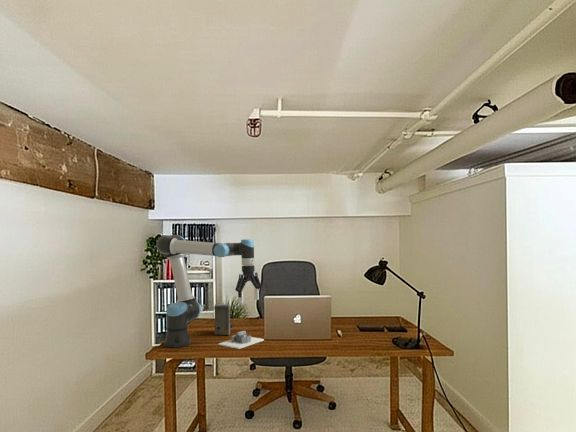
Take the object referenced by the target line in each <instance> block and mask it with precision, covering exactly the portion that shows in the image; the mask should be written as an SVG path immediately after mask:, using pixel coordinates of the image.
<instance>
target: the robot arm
mask: <svg viewBox="0 0 576 432" xmlns="http://www.w3.org/2000/svg"><path fill="white" fill-rule="evenodd" d="M156 249H157V251H158V252H159V253H160V254H162V255H165V257H166V260H169V262H170V263H169V264H170V266H171V270H172V271H171V272H172V275H173V281H174V284H175V290H176V295H177V300H176V302H174V303H173V302H172V303H170V304H168V305H167V307H166V312H165V313H166V334H165V339H164V341H163V346H164V347H165V346H166V347H165V348H171V347H175V348H183V347H187V346H189V344H190V345H191V344H192V343H191V341H192V339H191V336H190V333H189V330H188V323H190V322H192V321H195V320H196V319H197V318H199V317H200V315H201V313H202V307H201V304H200V303H199V302H198V301H197V300H196V296H195V295H193V294H192V293H193V292H192V289H191V285H190V283H191V282H190V279H189V275H188V269H187V265H186V261H185V256H186V255H187V254H188V255H199V256H212V257H218V258H225V257H232V256H241V272H242V274H241V273H239V275H238V280H237V283H236V285H235V286H236V287H235V289H234V290H235V291H236V292H238V294H237V296H238V303H239V304H244V291H243V290H244V288H245V286H246V284H247V283H248V282H251V283H252V285H253V287H254V289H253V292H254V293H253V294H254V295H253V296H254V300H256V301H259V300H260V297H259V296H260V295H259V294H260V289H261V288H262V284H261V281H260V279H259V278H260V277H258V276H259V274H258V272H257V271H256V272H255V245H254V239H252V238H250V239H249V238H248V239H247V238H245V239H241V240H240V242H226V243H225V242H224V243H221V242H220V243H219V242H208V241H196V240H186V239H185V238H184V237H183V236H181V235H177V234H170V235H169V234H166V235H162V236H160V237H159V238H158V239H157V241H156ZM182 346H183V347H182Z"/></svg>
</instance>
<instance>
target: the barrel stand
mask: <svg viewBox="0 0 576 432" xmlns="http://www.w3.org/2000/svg"><path fill="white" fill-rule="evenodd" d="M263 341H265V339H264V338H259V337H254V336H252V335H247V337H244V338H241V343H237V342H236V334H233V335H232V336H231V339H229V340H225V341H222V342H219V343H218V344H217V346H220V347H225V348H232V349H237V350H240V349H243V348H246V347H249V346H252V345H254V344H258V343H261V342H263Z"/></svg>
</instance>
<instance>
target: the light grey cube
mask: <svg viewBox="0 0 576 432" xmlns="http://www.w3.org/2000/svg"><path fill="white" fill-rule="evenodd" d="M235 335H236V342H237V343H241V338H244V337H247V336H248V333H247V331H246V330H241V331H238V332H237V333H236V334H235Z"/></svg>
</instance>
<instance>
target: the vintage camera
mask: <svg viewBox="0 0 576 432" xmlns="http://www.w3.org/2000/svg"><path fill="white" fill-rule="evenodd" d="M213 309H214V335H215V336H230V335H231V329H232V328H233V327H234V326H235V325H234V324H233V323H231V305H230V303H215V304H214V306H213Z"/></svg>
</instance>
